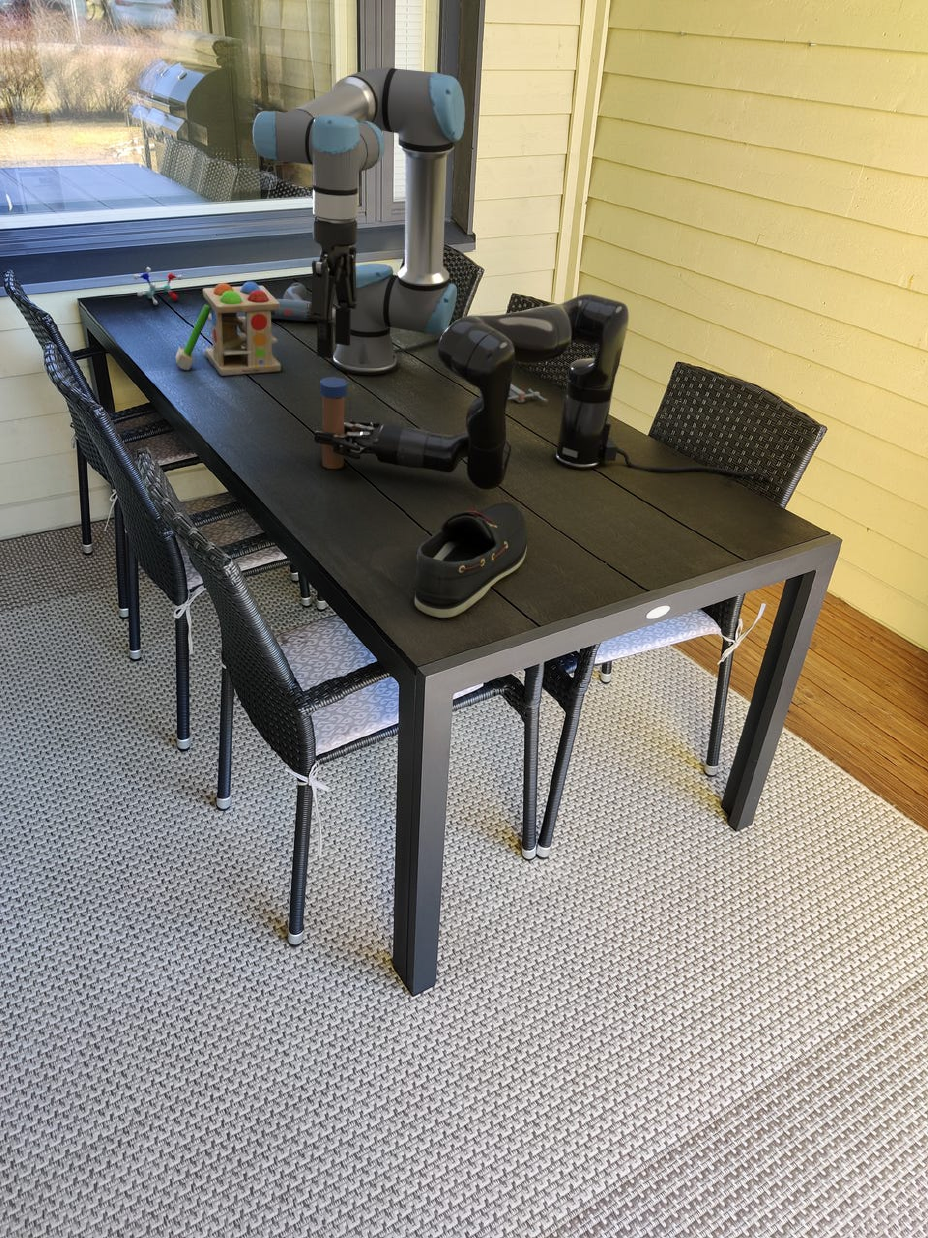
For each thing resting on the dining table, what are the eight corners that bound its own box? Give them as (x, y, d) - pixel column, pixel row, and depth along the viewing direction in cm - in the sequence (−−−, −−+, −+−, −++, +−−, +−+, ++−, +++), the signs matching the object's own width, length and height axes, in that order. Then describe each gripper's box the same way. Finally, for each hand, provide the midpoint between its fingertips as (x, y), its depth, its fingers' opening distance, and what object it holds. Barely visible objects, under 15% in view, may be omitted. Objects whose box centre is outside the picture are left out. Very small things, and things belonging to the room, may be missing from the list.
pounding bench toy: (183, 379, 220) (176, 299, 210) (169, 357, 231) (162, 280, 221) (282, 371, 230) (280, 294, 220) (264, 350, 240) (262, 276, 230)
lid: (335, 386, 187) (335, 375, 185) (352, 394, 184) (352, 383, 183) (314, 391, 183) (314, 380, 182) (332, 400, 181) (332, 389, 179)
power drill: (344, 304, 276) (335, 327, 259) (277, 298, 275) (264, 321, 258) (344, 285, 273) (335, 306, 256) (277, 279, 272) (264, 300, 255)
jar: (334, 457, 194) (335, 378, 185) (348, 465, 192) (350, 385, 183) (317, 463, 192) (317, 383, 182) (331, 470, 189) (332, 390, 180)
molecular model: (165, 296, 257) (152, 258, 255) (138, 309, 260) (124, 272, 259) (191, 298, 267) (178, 262, 266) (164, 311, 271) (151, 276, 270)
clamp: (478, 378, 231) (514, 373, 235) (477, 387, 232) (513, 382, 236) (512, 401, 220) (549, 396, 225) (511, 411, 221) (548, 405, 226)
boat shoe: (553, 546, 173) (559, 493, 167) (451, 625, 149) (454, 565, 143) (491, 526, 178) (495, 473, 173) (382, 598, 154) (383, 540, 149)
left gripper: (339, 204, 175) (337, 331, 188) (288, 225, 159) (290, 363, 172) (378, 210, 173) (374, 338, 186) (330, 232, 157) (330, 371, 170)
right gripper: (415, 414, 190) (331, 399, 192) (395, 442, 178) (306, 426, 181) (413, 449, 194) (331, 435, 197) (393, 479, 183) (306, 464, 185)
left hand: (334, 349), depth 179 cm, fingers open, 7 cm apart
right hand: (319, 431), depth 189 cm, fingers open, 4 cm apart
